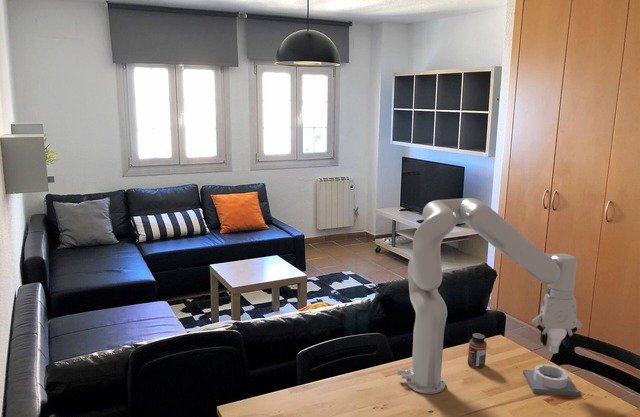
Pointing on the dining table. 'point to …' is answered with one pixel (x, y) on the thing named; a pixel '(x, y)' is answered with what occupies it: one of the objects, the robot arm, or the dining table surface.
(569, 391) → the socket holder
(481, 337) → the supplement bottle
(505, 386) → the dining table surface
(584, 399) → the dining table surface
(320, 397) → the dining table surface
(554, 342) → the lightbulb
